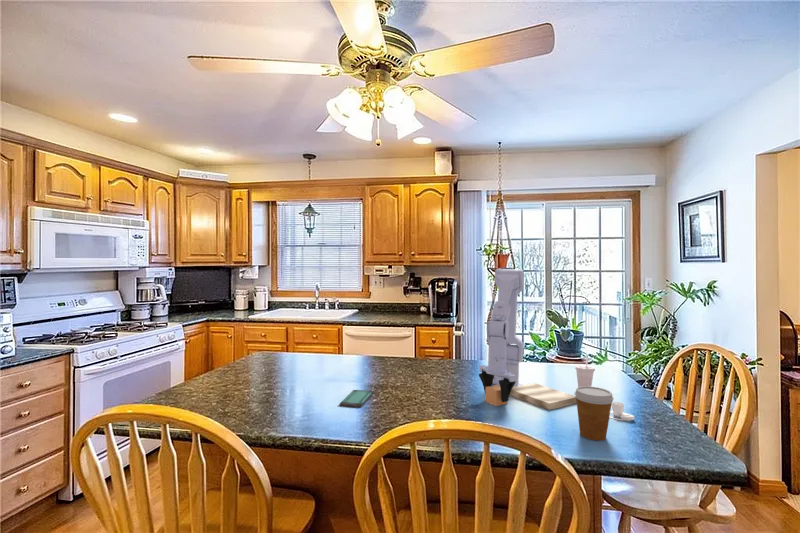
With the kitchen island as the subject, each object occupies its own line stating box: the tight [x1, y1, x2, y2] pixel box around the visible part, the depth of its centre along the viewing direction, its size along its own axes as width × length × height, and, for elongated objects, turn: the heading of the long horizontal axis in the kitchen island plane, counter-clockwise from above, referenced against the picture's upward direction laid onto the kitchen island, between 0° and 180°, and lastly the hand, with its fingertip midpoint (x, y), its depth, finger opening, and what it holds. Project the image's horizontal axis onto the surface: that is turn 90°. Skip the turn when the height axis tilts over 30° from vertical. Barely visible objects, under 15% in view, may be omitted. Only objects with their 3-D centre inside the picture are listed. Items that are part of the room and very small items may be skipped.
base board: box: [509, 382, 577, 410], centre depth 141 cm, size 18×14×2 cm
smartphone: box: [339, 389, 374, 409], centre depth 136 cm, size 7×1×15 cm
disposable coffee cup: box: [574, 386, 615, 441], centre depth 110 cm, size 10×10×12 cm
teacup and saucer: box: [609, 401, 635, 422], centre depth 125 cm, size 9×8×4 cm
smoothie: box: [574, 354, 596, 388], centre depth 146 cm, size 6×6×14 cm
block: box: [484, 384, 508, 407], centre depth 135 cm, size 5×5×5 cm
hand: (496, 398), depth 135 cm, fingers open, 7 cm apart
